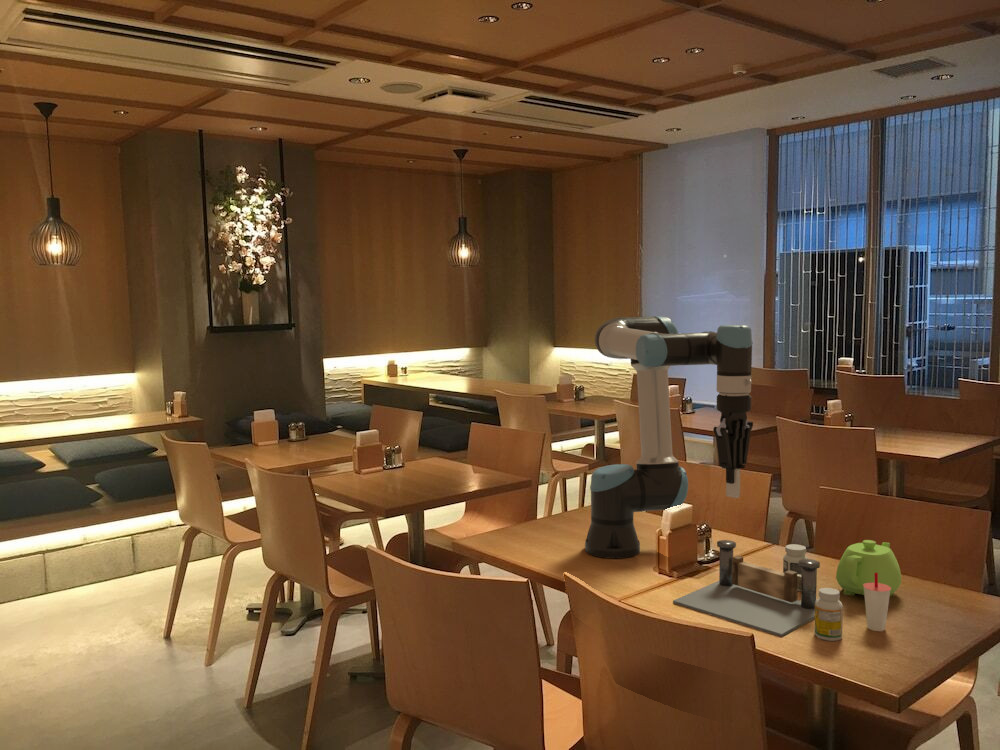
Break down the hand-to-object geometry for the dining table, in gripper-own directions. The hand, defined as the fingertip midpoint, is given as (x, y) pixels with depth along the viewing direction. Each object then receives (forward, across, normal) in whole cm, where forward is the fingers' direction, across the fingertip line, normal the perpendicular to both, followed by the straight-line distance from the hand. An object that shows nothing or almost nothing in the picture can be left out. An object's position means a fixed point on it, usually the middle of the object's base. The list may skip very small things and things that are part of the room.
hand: (733, 496), depth 191 cm
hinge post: (+24, +7, +6) cm, 26 cm away
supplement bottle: (+25, -4, -25) cm, 35 cm away
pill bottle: (+25, +18, -6) cm, 31 cm away
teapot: (+25, +26, -20) cm, 41 cm away
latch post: (+24, +7, -14) cm, 29 cm away
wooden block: (+23, +6, -4) cm, 24 cm away
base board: (+24, -1, -5) cm, 25 cm away
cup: (+25, +7, -30) cm, 39 cm away
